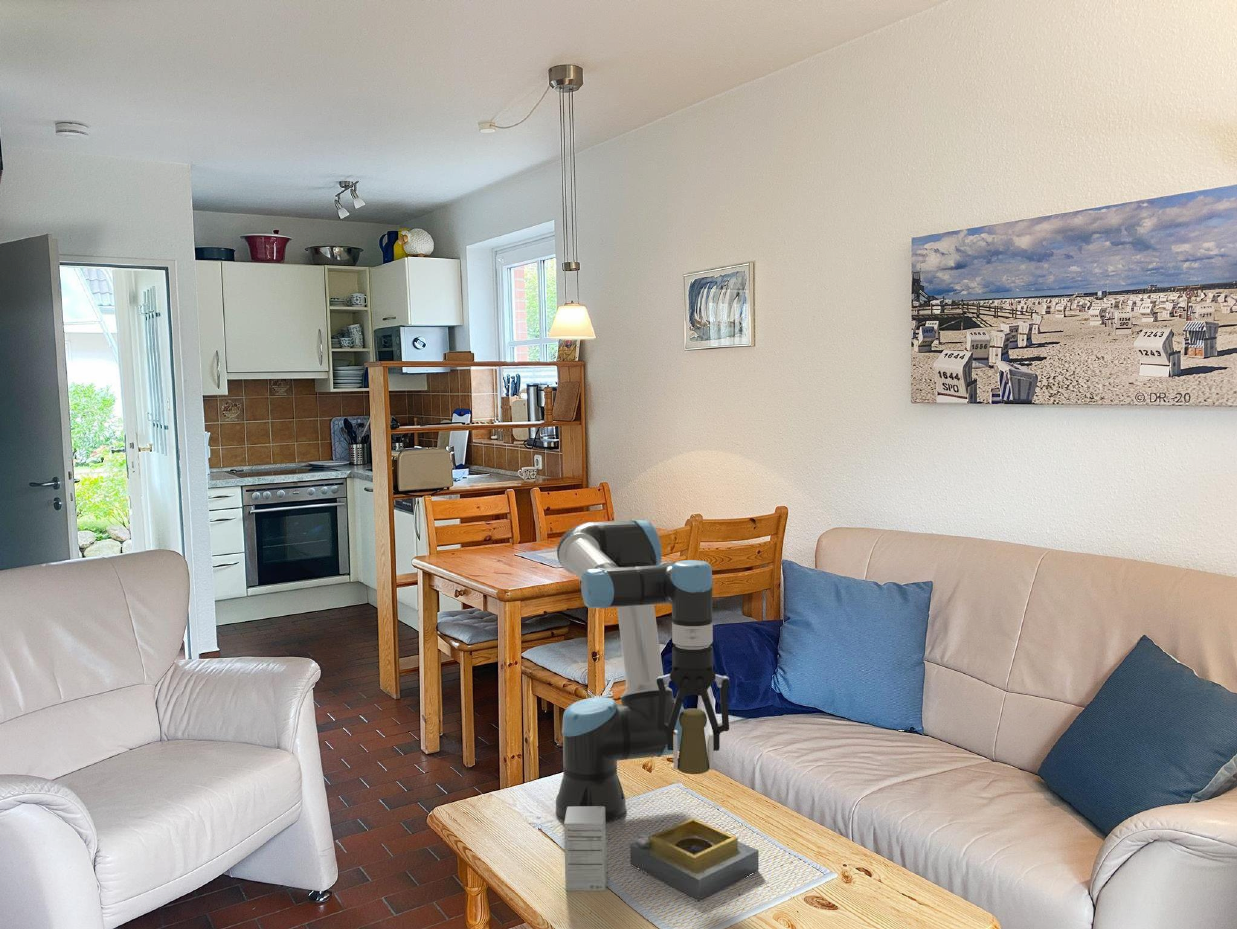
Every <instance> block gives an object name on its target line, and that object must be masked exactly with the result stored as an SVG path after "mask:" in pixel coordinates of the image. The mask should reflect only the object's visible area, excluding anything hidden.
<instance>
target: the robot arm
mask: <svg viewBox="0 0 1237 929" xmlns="http://www.w3.org/2000/svg"><path fill="white" fill-rule="evenodd" d="M659 536H660V535H659V534H658V531H657V530H656V527H655V526H654V525H653V524H652V523H651V522H650V521H648V520H644V519H643V520H641V519H640V520H638V519H637V520H636V519H629V520H613V521H612V520H608V521H606V520H605V521H587V522H583V523H579V524H577V525H576V526H573V527H571V528H570V529H569V530H567V531H566V532H565V533H564V534H563V535H562V536H561V538H560V540H559V541H558V543H557V548H556V555H557V560H558V562H559V564H560V566H561V567H562V568H563V569H564V570H565V571H566V572H568V573H569V574H571V575H575V576H576V577H577V578H578V579H579V581H580V589H581V598H582V599H583V604H584V606H585V607H587V608H589V609H603V610H604V609H609V608H616V611H617V619H618V628H619V634H620V645H621V652H622V662H623V667H624V668H623V669H624V677H625V678H624V679H625V686H626V689H625V691H624V692H623V694H621V695H620V700H621V701H620V702H621V704H617V702H616V701H615V700H614V699H613V698H611V697H605V696H604V697H601V696H594V697H588V698H584V699H581V700H577V701H575V702H573V703H571V704H570V705H569V706H567V708H566V709H565V710H564V712H563V715H562V728H561V733H562V759H563V760H562V764H563V765H562V767H563V770H562V772H563V774H562V779H561V783H560V785H559V786H560V787H559V790H558V794H557V795H556V798H555V813H556V815H557V816H558V817H560V818H561V819H563V820H564V821H565V816H566V810H567V807H571V806H602V807H605V822H606V823H608V822H612V821H615V820H616V819H619V818H620V817H622V816H623V815H624V814H625V812H626V809H627V808H626V807H627V806H626V804H627V803H626V795H625V793H624V789H623V787H622V784H621V781H620V778H619V775H618V761H626V760H627V761H628V760H634V759H635V760H637V759H646V758H655V757H657V758H661V757H663V756H669V755H673V756H672V757H673V759H672V760H673V770H678V758H679V750H680V742H681V733H682V727H681V726H680V723H679V716H680V713H681V712H682V711H683V710H685V708H684V700H685V696H688V697H689V696H692V695H694V696H701V700H702V702H703V706H704V708H705V712H706V716H707V719H708V721H709V724H710V726H711V730H710V729H709V730H708V761H709V771H714V767H715V766H714V765H715V764H714V763H715V762H714V756H715V755H714V752H715V751H716V752H717V751H719V750H720V749H721V748H720V744H721V743H720V735H721V733H724V732H728V731H729V730H730V723H729V722H730V719H729V718H730V717H729V704H728V694H727V693H728V689H729V684H730V678H729V676H728V675H726V674H725V675H720V674H717V673H716V672H715V670H714V656H713V655H714V648H713V646H712V645H711V644H712V643H713V642H714V637H713V636H714V633H713V632H714V631H713V586H714V578H713V571H712V569H713V568H712V565H711V564H710V563H709V562H707V561H704V560H700V559H699V560H698V559H687V560H686V559H685V560H679V561H664V562H662V560H663V559H662V556H663V555H662V545H661V539H660V537H659ZM665 604H666V605H667V604H669V605H670V604H671V635H672V637H671V640H672V642H671V643H673V646H672V648H671V651H672V653H671V654H672V655H671V656H672V658H671V659H672V661H671V662H672V665H671V666H672V668H671V670H670V671H669V673H668V674H665V675H664V670H663V669H664V668H663V663H662V662H663V661H662V655H661V648H660V647H661V646H660V641H659V632H658V626H657V624H658V623H657V619H656V611H655V605H665ZM670 682H672V683H673V684H674V686H675V687H676V689H677V692H676V696H675V698H674V694H673V693H674V692H673V690H672V688H670V687H669V685H670ZM714 682H716V686H717V688H719V697H720V698H719V699H720V700H719V701H720V711H721V713H720V714H721V722H719V723H718V718H717V716H716V714H715V710H714V707H713V703H712V701H711V698H710V695H709V691H708V690H709V689H710V687H711V686H712V684H714Z"/></svg>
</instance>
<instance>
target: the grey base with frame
mask: <svg viewBox="0 0 1237 929" xmlns="http://www.w3.org/2000/svg"><path fill="white" fill-rule="evenodd" d="M629 852H630V854H629V855H630V856H629V857H630V863H629V864H631V865H630V866H632V865H633V866H634V868H635V867H636V869H637V868H639V869H638V870H639V871H641V870H642V871H641V872H643V871H644V872H643V873H645V872H646V873H647V875H648V874H650V875H651V876H650V875H649V876H650V877H652V876H653V877H652V878H654V879H656V880H657V879H658V880H657V881H659V880H660V882H661V881H662V882H661V883H663V882H664V884H665V885H667V886H668V887H670V886H671V887H670V888H672V889H674V888H675V889H674V890H676V891H678V892H680V893H681V894H683V893H684V894H683V895H685V894H686V895H685V896H687V897H688V898H691V897H692V898H693V899H692V898H691V899H692V900H694V899H695V901H696V900H697V901H696V902H698V903H700V902H702V901H704V900H706V899H708V898H710V897H712V896H714V895H715V894H717V893H719V892H721V891H723V890H724V889H728V888H729V887H731V886H733V885H735V884H737V883H738V882H740V881H743V880H745V879H747V878H748V877H747V876H749V875H750V874H752V873H754V874H756V873H757V872H756V871H758V870H759V856H760V855H759V849H756V848H754V847H752V846H749V845H747V844H745V843H743V842H741V841H739V840H738V837H737V836H735V835H732V834H730V833H728V832H726V831H723V830H722V829H719V828H717V827H714V826H712V825H710V824H708V823H705V822H703V821H702V820H699V819H697V818H694V817H691V818H689V819H687V820H684V821H682V822H679V823H676V824H675V825H671V826H670V827H667V828H665V829H663V830H660V831H658V832H656V833H652V834H651V835H649V836H648V835H644V834H642V835H639V836H638V837H637V841H635V842H633V843H630V845H629ZM633 866H632V867H633ZM759 871H760V870H759ZM759 871H758V872H759ZM755 872H756V873H755ZM646 873H645V874H646ZM752 875H753V874H752ZM750 876H751V875H750ZM750 876H749V877H750ZM746 877H747V878H746ZM744 878H745V879H744ZM742 879H743V880H742ZM713 894H714V895H713ZM709 896H710V897H709ZM707 897H708V898H707ZM701 900H702V901H701Z"/></svg>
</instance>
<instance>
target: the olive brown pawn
mask: <svg viewBox="0 0 1237 929" xmlns="http://www.w3.org/2000/svg"><path fill="white" fill-rule="evenodd" d="M705 712H706V711H704V710H702V709H700V708H690V707H689V708H686V709H685V708H684V710H683V711H682V712H681V713H680V716H679V723H680V726H681V727H682V733H681V742H680V750H679V751H678V769H677V770H678V771H679V772H681V773H682V774H688V775H701V774H704V773H707V772H709V771H710V769H709V753H708V749H707V748H708V747H707V742H706V740H707V739H706V734H705V727H706V726H707V722H708V716H707V713H705Z"/></svg>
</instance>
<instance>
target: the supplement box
mask: <svg viewBox="0 0 1237 929" xmlns="http://www.w3.org/2000/svg"><path fill="white" fill-rule="evenodd" d="M563 823H564V825H563V826H564V830H563V831H564V873H565V875H564V877H565V882H564V883H565V890H566V891H577V892H578V891H579V892H580V891H582V892H584V891H585V892H588V891H589V892H590V891H591V892H597V891H598V892H601V891H602V892H603V891H605V890H606V886H607V885H606V883H607V839H606V838H607V834H606V833H607V832H606V831H607V829H606V826H607V825H606V824H607V822H605V807H602V806H571V807H567V810H566V816H565V820H564V822H563Z"/></svg>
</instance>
